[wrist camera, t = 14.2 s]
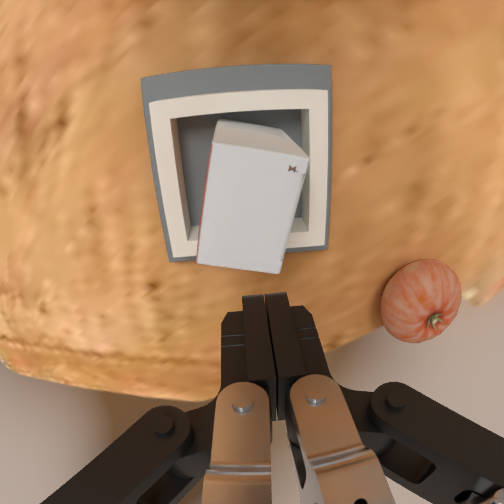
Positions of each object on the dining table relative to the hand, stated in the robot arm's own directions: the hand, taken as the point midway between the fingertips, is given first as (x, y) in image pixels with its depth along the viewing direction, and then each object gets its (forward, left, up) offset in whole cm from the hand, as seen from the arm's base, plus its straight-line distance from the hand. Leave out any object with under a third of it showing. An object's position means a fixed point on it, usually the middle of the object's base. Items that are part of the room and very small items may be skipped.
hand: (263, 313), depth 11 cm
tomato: (+16, +20, -21) cm, 33 cm away
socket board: (0, 0, -21) cm, 21 cm away
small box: (0, 0, -19) cm, 19 cm away
